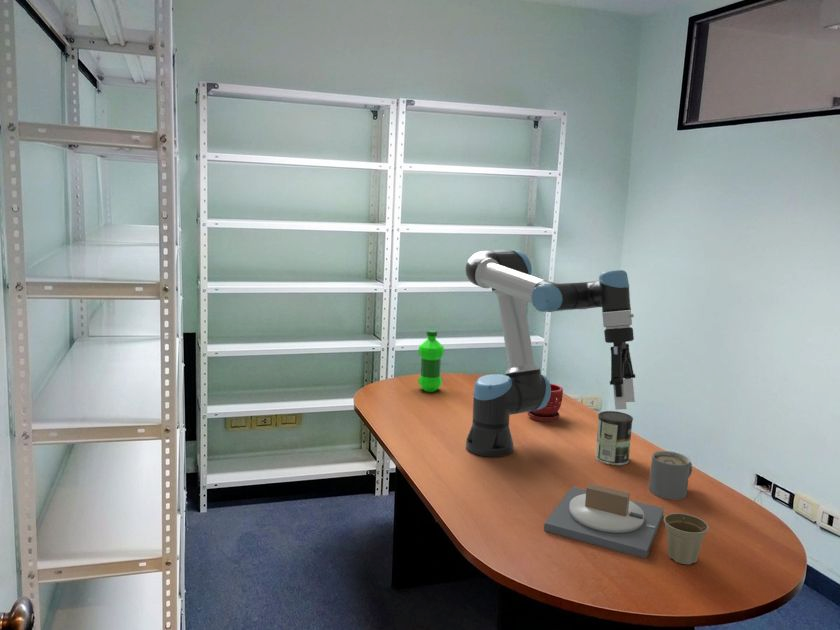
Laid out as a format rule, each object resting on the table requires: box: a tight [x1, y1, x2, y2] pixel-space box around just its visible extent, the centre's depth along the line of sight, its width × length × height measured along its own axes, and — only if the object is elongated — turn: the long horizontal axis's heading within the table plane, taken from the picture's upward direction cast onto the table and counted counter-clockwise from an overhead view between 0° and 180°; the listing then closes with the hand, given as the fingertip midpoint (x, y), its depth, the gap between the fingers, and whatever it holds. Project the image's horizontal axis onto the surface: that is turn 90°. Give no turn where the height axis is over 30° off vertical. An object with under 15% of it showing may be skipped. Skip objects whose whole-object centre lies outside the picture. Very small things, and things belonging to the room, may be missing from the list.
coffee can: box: [594, 410, 634, 466], centre depth 204 cm, size 10×10×14 cm
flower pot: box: [663, 512, 709, 565], centre depth 149 cm, size 9×9×9 cm
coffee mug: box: [648, 450, 693, 500], centre depth 183 cm, size 13×10×10 cm
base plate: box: [543, 486, 665, 560], centre depth 164 cm, size 24×24×2 cm
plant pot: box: [527, 383, 564, 423], centre depth 241 cm, size 13×13×12 cm
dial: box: [569, 483, 644, 533], centre depth 163 cm, size 18×18×6 cm
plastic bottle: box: [417, 329, 445, 393], centre depth 270 cm, size 10×10×25 cm
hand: (625, 405), depth 178 cm, fingers open, 13 cm apart
